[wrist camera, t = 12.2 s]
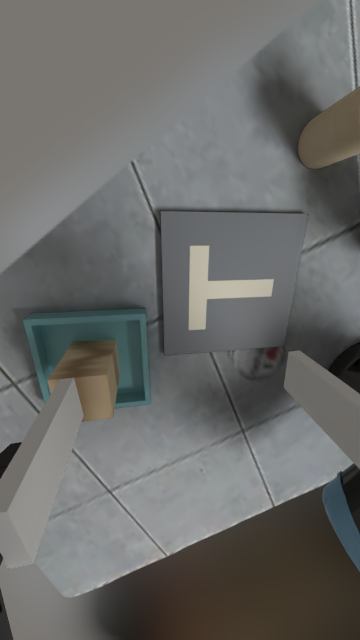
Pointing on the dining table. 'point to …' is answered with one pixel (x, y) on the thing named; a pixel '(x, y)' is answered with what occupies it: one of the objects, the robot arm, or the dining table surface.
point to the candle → (332, 134)
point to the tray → (66, 327)
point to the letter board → (228, 279)
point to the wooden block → (91, 376)
